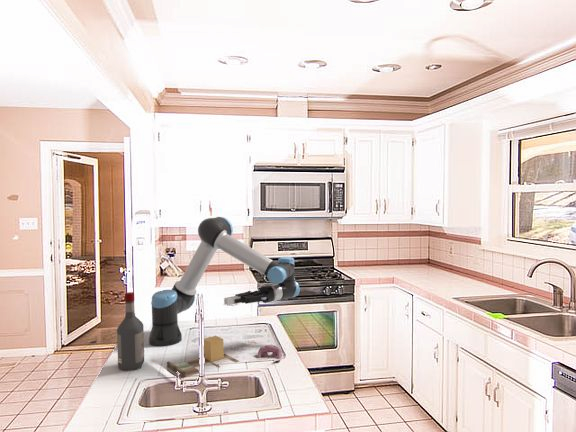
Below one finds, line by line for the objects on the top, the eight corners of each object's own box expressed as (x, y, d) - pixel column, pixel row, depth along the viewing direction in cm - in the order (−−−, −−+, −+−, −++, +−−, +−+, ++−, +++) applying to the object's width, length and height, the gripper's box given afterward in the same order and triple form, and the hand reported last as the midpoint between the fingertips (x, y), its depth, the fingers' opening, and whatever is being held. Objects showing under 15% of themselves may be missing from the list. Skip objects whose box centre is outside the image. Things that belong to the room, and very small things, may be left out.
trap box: (167, 370, 175) (166, 362, 174) (221, 355, 191) (221, 347, 190) (183, 381, 164) (183, 372, 164) (239, 364, 180) (239, 356, 180)
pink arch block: (281, 363, 185) (282, 345, 188) (280, 361, 181) (281, 344, 184) (258, 362, 186) (259, 345, 189) (256, 361, 182) (257, 343, 185)
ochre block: (203, 357, 184) (203, 338, 184) (216, 354, 188) (215, 335, 188) (210, 361, 180) (210, 342, 179) (223, 358, 184) (223, 338, 183)
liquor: (145, 361, 185) (143, 290, 183) (140, 370, 176) (138, 295, 174) (122, 362, 184) (120, 291, 182) (116, 371, 175) (114, 296, 173)
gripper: (280, 304, 197) (235, 313, 182) (261, 298, 208) (217, 307, 193) (279, 287, 196) (235, 295, 181) (260, 283, 207) (216, 290, 192)
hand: (225, 301), depth 187 cm, fingers closed
